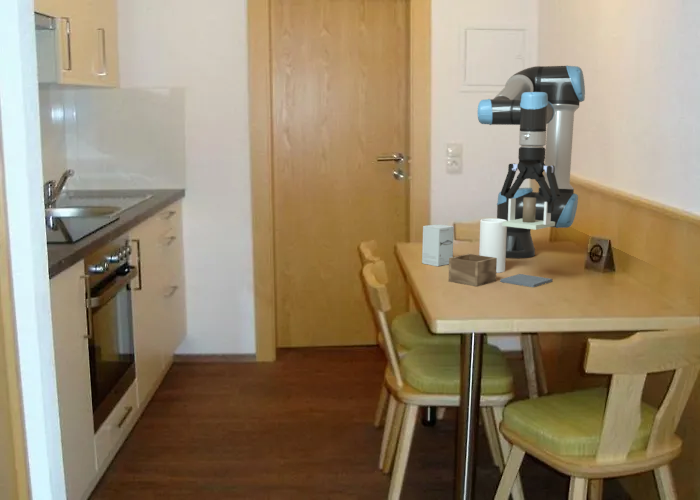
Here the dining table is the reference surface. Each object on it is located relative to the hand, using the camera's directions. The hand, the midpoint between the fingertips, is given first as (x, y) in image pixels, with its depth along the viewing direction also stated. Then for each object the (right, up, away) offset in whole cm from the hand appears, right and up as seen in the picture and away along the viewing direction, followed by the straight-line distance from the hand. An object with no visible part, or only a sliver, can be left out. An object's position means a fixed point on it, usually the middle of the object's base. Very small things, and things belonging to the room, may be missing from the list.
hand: (528, 222), depth 242 cm
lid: (0, -1, 0) cm, 1 cm away
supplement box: (-23, -13, +31) cm, 41 cm away
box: (-16, -17, +3) cm, 24 cm away
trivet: (0, -17, +3) cm, 18 cm away
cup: (-7, -15, +20) cm, 26 cm away
